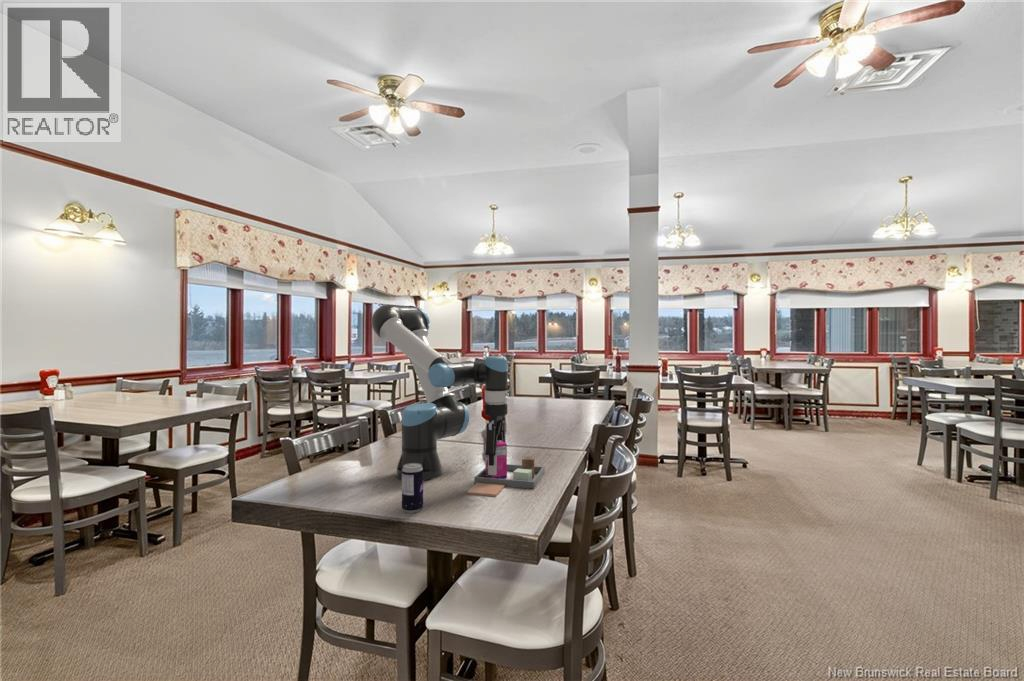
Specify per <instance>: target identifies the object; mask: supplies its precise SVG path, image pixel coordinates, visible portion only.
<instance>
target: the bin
mask: <svg viewBox="0 0 1024 681" xmlns="http://www.w3.org/2000/svg"><path fill="white" fill-rule="evenodd" d="M517 468H519V469H522V464H509V463H507V472H508V471H511V472H514V471H515V470H516V469H517ZM545 468H546V467H545V466H538V465H534V474H535V473H537V474H536V476H534V478H533V479H532V481H524V480H513V479H511V478H510V479H509V478H499V479H498V478H489V477H486V475H485V467H484V468H483V469H482V470H480V471H479V473H477V475H475V476H474V479H473V482H474V485H475V484H476V483H486V484H498V485H505V487H512V488H522V489H524V488H525V489H536V487H537V485H538V484H539V482H540V480H541V479H542V477H543V476H544V475H545V472H546V470H545Z"/></svg>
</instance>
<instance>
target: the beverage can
mask: <svg viewBox="0 0 1024 681" xmlns="http://www.w3.org/2000/svg"><path fill="white" fill-rule="evenodd" d="M423 507H424V480H423V468H422V465H421V464H419V463H409V464H405V465H404V466H403V469H402V479H401V508H402V510H403V511H404V512H405V513H408V514H409V513H410V514H411V513H412V514H414V513H418V512H420V511H421V510H422V508H423Z"/></svg>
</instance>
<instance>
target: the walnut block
mask: <svg viewBox="0 0 1024 681" xmlns="http://www.w3.org/2000/svg"><path fill="white" fill-rule="evenodd" d="M521 465H522V469H529V470H532V479H534V478H535V473H534V466H535V456H530V455H528V456H525V455H524V456H523V455H522V458H521Z"/></svg>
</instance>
